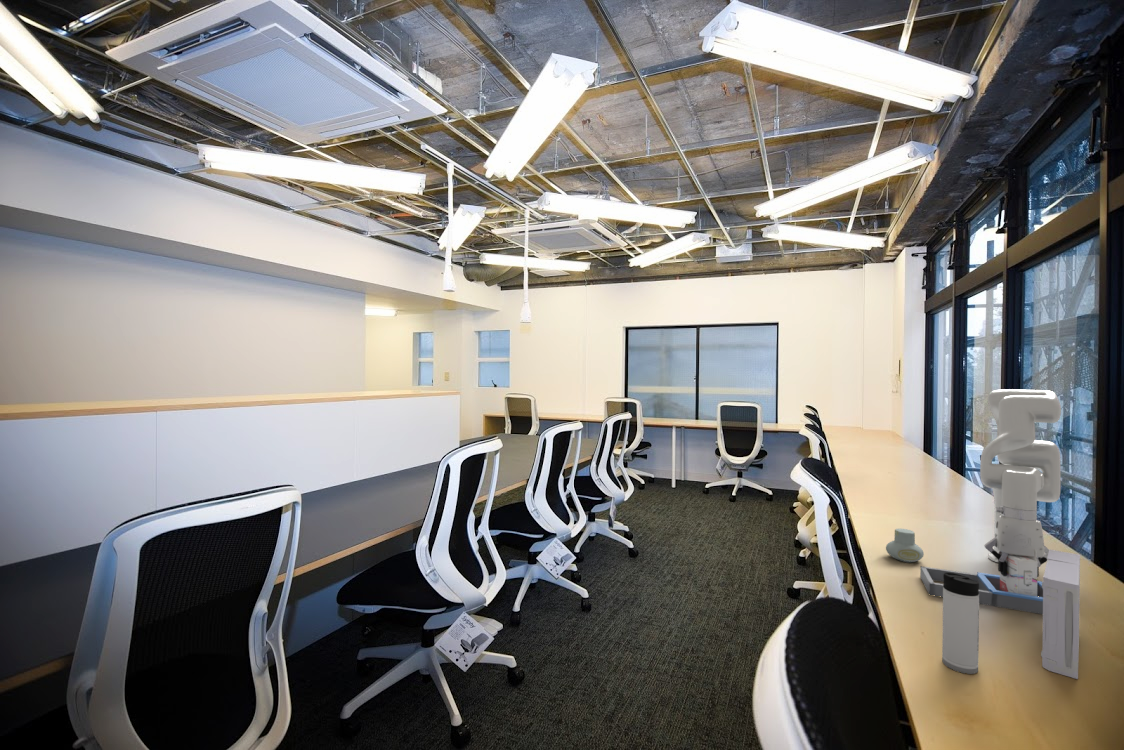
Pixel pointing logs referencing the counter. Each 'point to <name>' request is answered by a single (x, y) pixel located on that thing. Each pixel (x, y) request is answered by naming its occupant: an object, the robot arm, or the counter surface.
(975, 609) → the travel mug
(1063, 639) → the game console
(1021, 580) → the ink cartridge box
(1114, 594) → the counter surface
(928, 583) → the organiser
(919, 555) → the air freshener
